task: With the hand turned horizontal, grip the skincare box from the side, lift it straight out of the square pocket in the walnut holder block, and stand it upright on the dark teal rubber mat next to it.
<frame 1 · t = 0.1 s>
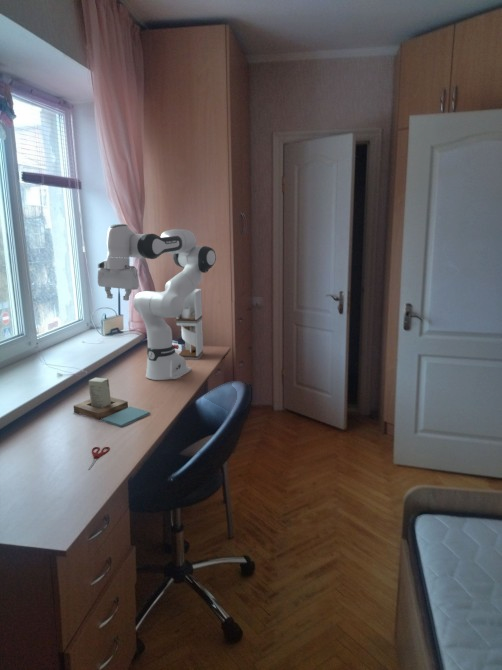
hand: (117, 299, 198), 39 cm above the table, tool pointing down, fingers open, 8 cm apart
pocket holder: (101, 409, 186), on the table
teal mat: (126, 417, 179), on the table
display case: (190, 356, 257), on the table
scissors: (96, 460, 149), on the table
skincare box: (101, 410, 186), resting in pocket holder
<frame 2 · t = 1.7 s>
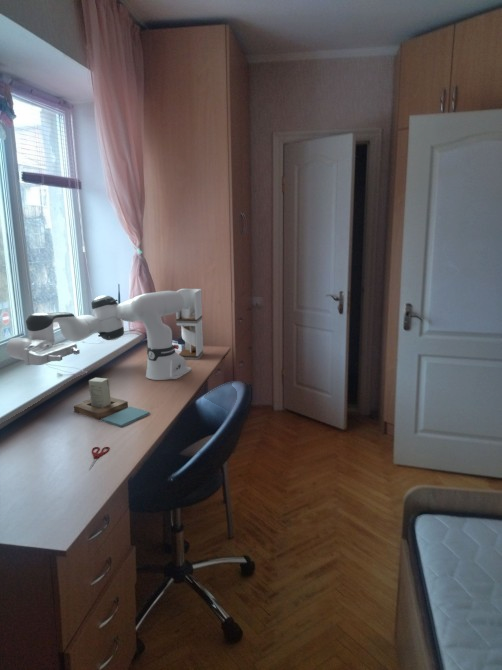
hand: (69, 355, 186), 20 cm above the table, tool horizontal, fingers open, 8 cm apart
nothing on the table moved.
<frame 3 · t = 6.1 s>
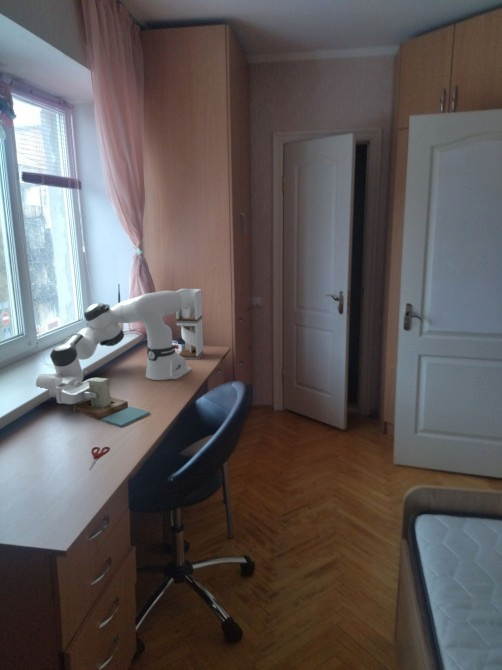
hand: (101, 392, 184), 7 cm above the table, tool horizontal, fingers closed on skincare box, 4 cm apart
skincare box: (101, 410, 186), resting in pocket holder, touching gripper
everything else where it was.
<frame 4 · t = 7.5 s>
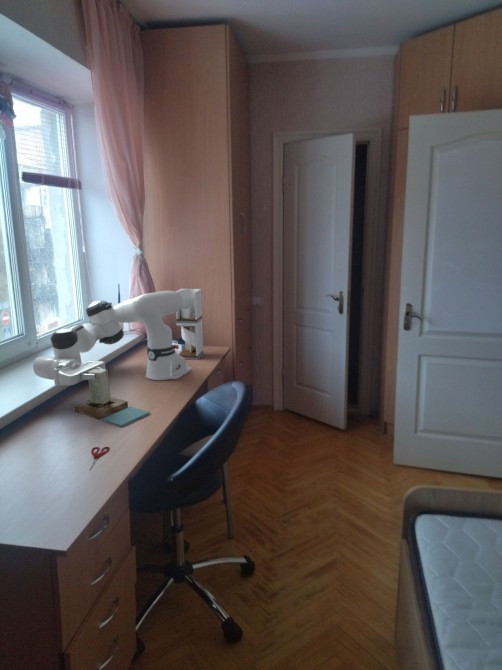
hand: (100, 374, 182), 14 cm above the table, tool horizontal, fingers closed on skincare box, 4 cm apart
skincare box: (100, 401, 185), point 3 cm above the table, touching gripper
everything else where it was.
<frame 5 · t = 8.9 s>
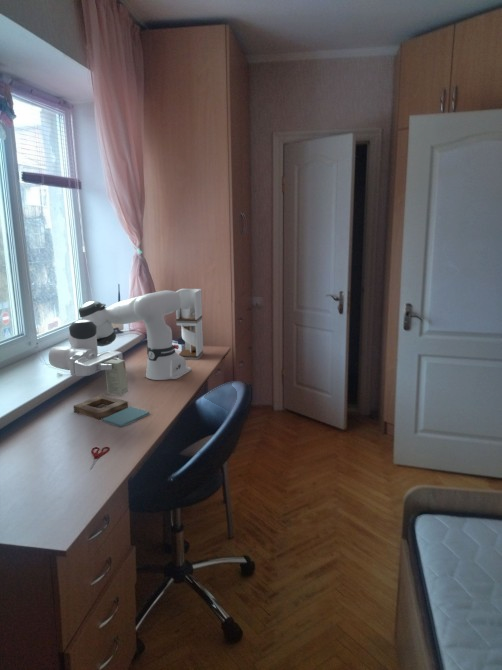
hand: (117, 364, 175), 20 cm above the table, tool horizontal, fingers closed on skincare box, 4 cm apart
skincare box: (117, 393, 178), point 9 cm above the table, touching gripper
everything else where it was.
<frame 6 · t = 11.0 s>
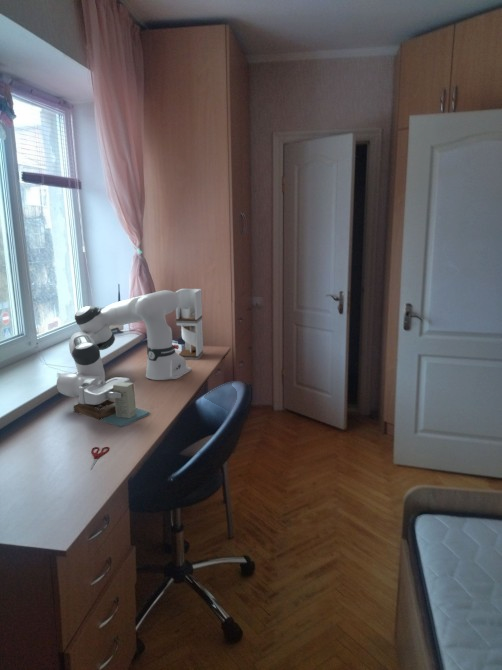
hand: (126, 392, 176), 10 cm above the table, tool horizontal, fingers closed on skincare box, 4 cm apart
skincare box: (126, 415, 179), point 1 cm above the table, touching gripper, teal mat
everything else where it was.
when the fingers open (9 cm above the table, at t = 11.6 s): skincare box stays where it is, resting on teal mat.
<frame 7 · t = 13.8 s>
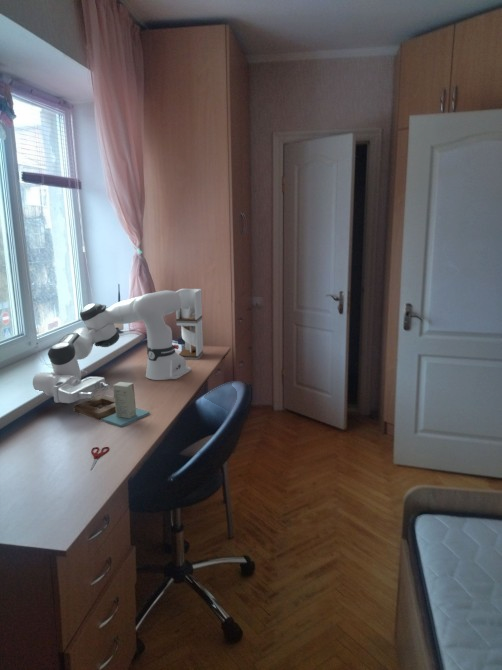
hand: (100, 391, 180), 9 cm above the table, tool horizontal, fingers open, 8 cm apart
skincare box: (126, 415, 179), point 1 cm above the table, touching teal mat
everything else where it was.
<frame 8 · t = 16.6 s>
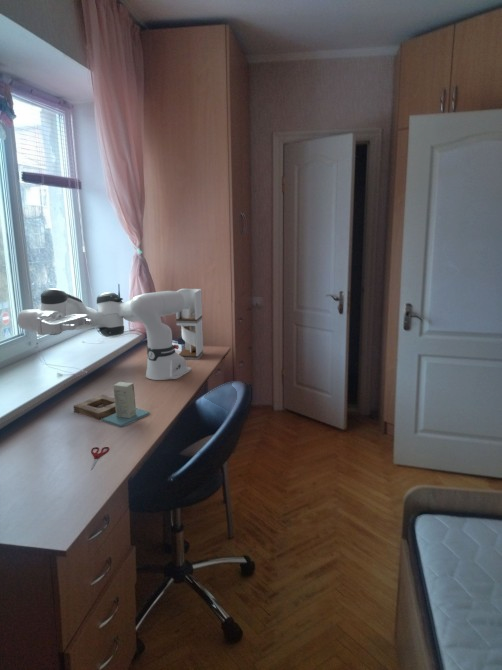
hand: (82, 325, 183), 32 cm above the table, tool horizontal, fingers open, 8 cm apart
nothing on the table moved.
at the end: skincare box inside the target area on the teal mat (0.1 cm from its centre), point 0.6 cm above the teal mat's base; skincare box tilted 0°; the gripper is holding nothing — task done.
